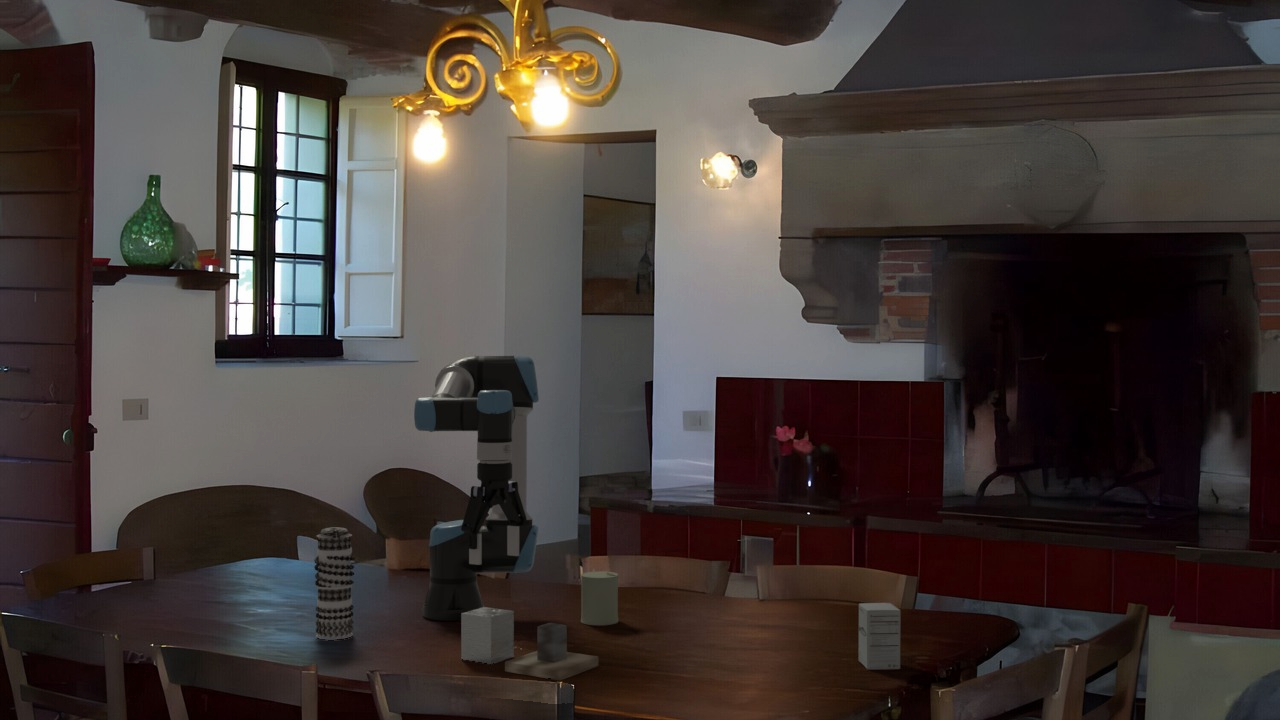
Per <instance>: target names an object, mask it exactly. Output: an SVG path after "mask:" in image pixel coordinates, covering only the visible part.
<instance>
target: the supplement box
mask: <svg viewBox="0 0 1280 720" xmlns="http://www.w3.org/2000/svg"><path fill="white" fill-rule="evenodd" d="M901 622H902V621H901V609H899V608H898V607H897V606H895V604H893V603H890V602H868V603H867V602H865V603H858V662H860V663H861V664H862V665H863V666H864V667H865V669H866V670H868V671H869V670H873V671H874V670H900V669H901Z"/></svg>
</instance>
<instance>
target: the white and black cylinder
mask: <svg viewBox="0 0 1280 720" xmlns="http://www.w3.org/2000/svg"><path fill="white" fill-rule="evenodd" d="M352 536H353V534H352V533H350V531H349V529H348V528H345V527H340V526H339V527H336V526H335V527H332V526H331V527H325V528H323V529H321V531H320V532H319V534H317V535H316V536H315V537H317V549H316V552H317V553H316V555H317V556H316V557H315V558H314V561H313V562H314V564H315V565H314V570H315V571H316V574H315V575H314V577H315V581H314V583H315V588H317V600H316V603H317V606H316V607H315V611H316V612H317V613H316V614H315V618H316V619H317V620H316V621H315V626H316V627H315V633H316V635H315V638H316V637H318V638H323V639H340V638H347V637H351V636H352V635H353V636H354V633H353V631H354V628H355V627H354V626H353V624H354V623H355V622H354V619H353V618H352V617H353V616H354V612H353V611H352V610H354V605H353V597H352V587H354V583H355V582H354V580H352V579H351V577H353V576H354V575H355V572H354V571H353V569H354V568H355V565H354V564H352V563H351V562H353V561H354V560H356V557H355V556H354V554H355V551H353V547H352ZM351 638H352V637H351Z"/></svg>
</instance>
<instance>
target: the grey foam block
mask: <svg viewBox="0 0 1280 720" xmlns="http://www.w3.org/2000/svg"><path fill="white" fill-rule="evenodd" d="M514 612H515V611H514V610H509V609H504V608H503V609H501V608H496V607H495V608H494V607H487V606H484V607H483V608H479V609H475V610H472V611H468V612H465V613H461V620H460V622H461V623H460V625H461V627H460V628H461V631H460V634H461V635H460V638H461V643H460V645H461V647H460V649H461V652H460V656H461V659H463V660H462V661H466V660H469V661H468V662H472V661H475V662H474V663H478V662H482V663H481V664H484V663H487V664H486V665H490V664H491V665H494V664H497V663H500V662H503V661H507V660H510V659H511V658H512V659H513V658H514V657H515V655H514V653H515V649H514V648H515V647H514V646H515V645H514V642H515V640H514V639H515V637H514V635H515V634H514V633H515V632H514V631H515V630H514V629H515V627H514V626H515V623H514V621H515V620H514V619H515V618H514V617H515V615H514ZM461 659H460V660H461ZM493 663H494V664H493Z"/></svg>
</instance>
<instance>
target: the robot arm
mask: <svg viewBox="0 0 1280 720" xmlns="http://www.w3.org/2000/svg"><path fill="white" fill-rule="evenodd" d="M434 387H435V389H434V391H433V393H432V395H431V396H427V397H419V398H417V399H416V400H415V401H414V410H413V411H414V412H413V413H414V414H413V415H414V417H413V418H414V426H415V428H416V430H417V431H420V432H424V431H425V432H430V433H433V432H477V443H476V459H477V460H478V461H479V462H478V463H477V467H476V472H477V473H476V477H477V480H478V481H480V482H481V483H480V486H475V485H472V486H471V487H470V496H469V500H468V503H467V507H466V511H465V514H464V517H463V519H459V520H458V519H457V520H453V521H446V522H442V523H439V524H435V526H433V527H432V528H431V529H430V534H429V535H430V536H429V544H428V546H429V586H428V590H427V592H426V596H425V599H424V603H423V605H422V616H423V618H426V619H429V620H434V621H445V622H447V621H448V622H449V621H450V622H451V621H461V613H465V612H468V611H472V610H475V609H479V608H483V607H485V605H484V602H483V600H482V596H481V593H480V589H479V586H478V574H480V573H481V574H485V573H487V574H489V573H490V574H495V573H496V574H498V573H499V574H500V573H501V574H503V573H504V574H505V573H506V574H507V573H511V574H516V573H517V574H518V573H527V572H530V571H531V570H532V568H533V567H534V562H535V557H536V549H537V543H538V534H539V533H538V532H539V527H538V526H537V525H536V524H533V517H532V516H531V515H530V514H529V513H528V512H527V485H528V484H527V459H528V458H527V454H528V453H527V450H528V448H527V447H528V444H527V443H528V442H527V441H528V439H527V438H528V436H527V435H528V432H527V431H528V430H527V429H528V428H527V427H528V426H527V425H528V415H529V414H531V412H532V411H533V410H534V403H538V402H539V400H540V399H539V389H538V382H537V374H536V367H535V363H534V361H533V359H532V358H531V357H529V356H524V355H523V356H521V355H485V356H483V355H472V356H471V355H470V356H465V357H462V358H460V359H457V360H455V361H452V362H450V363H449V364H448V365H446V366H444V367H443V368H442V369H441V370H440V371H439V372H438V375H437V376H436V379H435V384H434ZM490 509H491V512H490V514H489V511H490ZM484 522H485V525H483V524H484Z"/></svg>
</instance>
